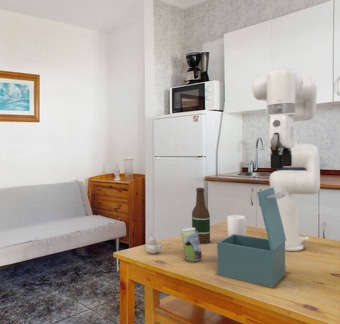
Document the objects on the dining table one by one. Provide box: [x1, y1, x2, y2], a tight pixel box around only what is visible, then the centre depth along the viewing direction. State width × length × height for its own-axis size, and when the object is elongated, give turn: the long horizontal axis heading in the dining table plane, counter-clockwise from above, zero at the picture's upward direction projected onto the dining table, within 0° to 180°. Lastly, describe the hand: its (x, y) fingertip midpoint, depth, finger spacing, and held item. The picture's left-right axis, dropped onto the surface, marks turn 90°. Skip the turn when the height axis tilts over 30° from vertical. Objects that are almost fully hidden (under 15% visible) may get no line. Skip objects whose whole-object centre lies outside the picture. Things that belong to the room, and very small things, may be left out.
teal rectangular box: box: [216, 234, 286, 289], centre depth 110 cm, size 17×14×11 cm
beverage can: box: [180, 227, 203, 262], centre depth 126 cm, size 6×7×12 cm
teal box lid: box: [256, 187, 286, 250], centre depth 104 cm, size 17×14×5 cm
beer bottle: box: [191, 187, 211, 245], centre depth 150 cm, size 8×8×24 cm
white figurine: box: [145, 233, 163, 255], centre depth 136 cm, size 5×7×8 cm
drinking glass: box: [226, 214, 247, 237], centre depth 130 cm, size 7×7×15 cm
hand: (281, 167), depth 103 cm, fingers open, 9 cm apart
